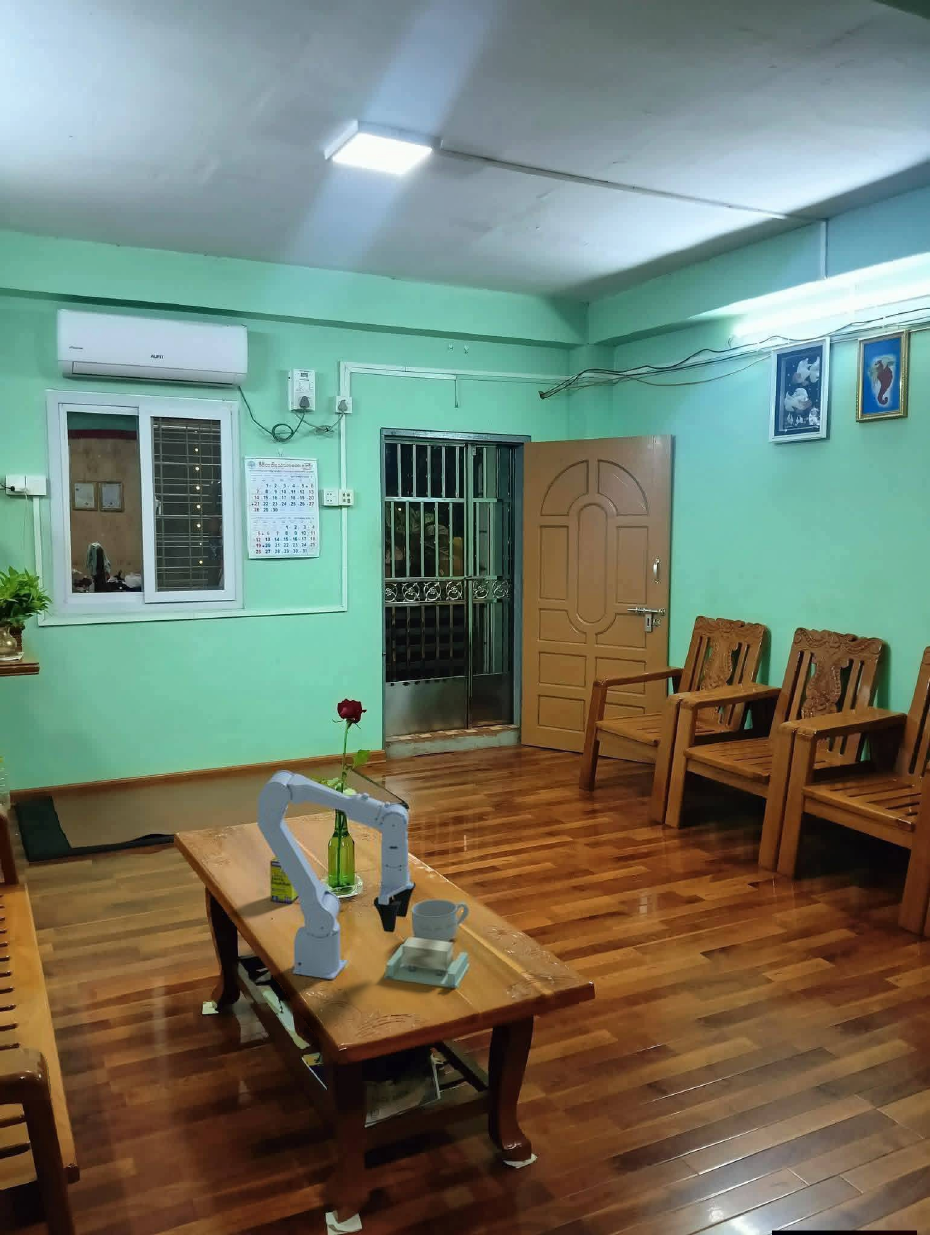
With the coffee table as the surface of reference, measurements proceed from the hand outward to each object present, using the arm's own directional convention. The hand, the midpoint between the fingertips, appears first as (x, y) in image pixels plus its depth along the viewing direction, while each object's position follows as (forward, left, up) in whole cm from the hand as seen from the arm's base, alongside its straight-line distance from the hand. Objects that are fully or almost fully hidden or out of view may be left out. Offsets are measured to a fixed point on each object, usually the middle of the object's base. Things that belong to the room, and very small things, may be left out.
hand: (395, 923), depth 201 cm
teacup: (+5, +17, -11) cm, 21 cm away
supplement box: (-40, +28, -11) cm, 50 cm away
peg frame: (+7, +1, -10) cm, 13 cm away
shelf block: (+7, +1, -8) cm, 11 cm away
